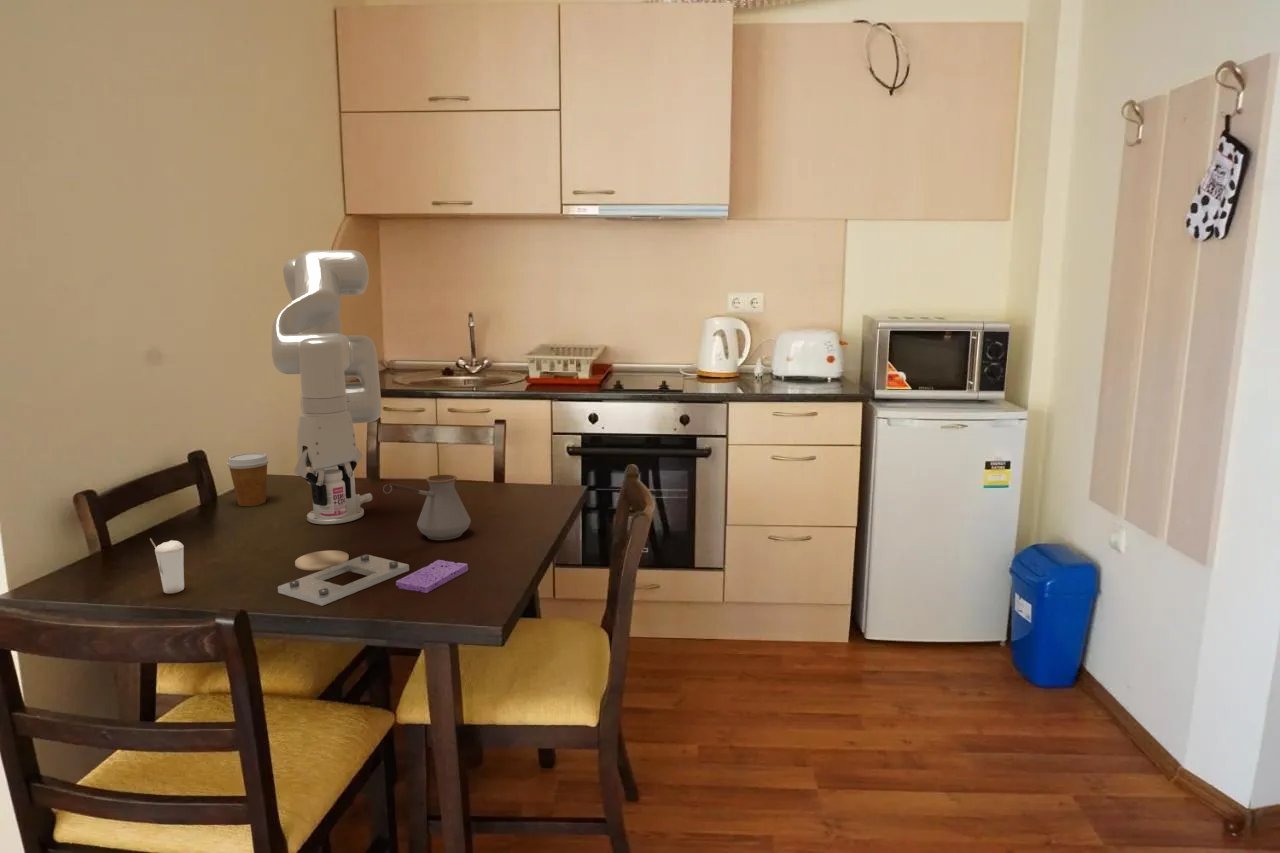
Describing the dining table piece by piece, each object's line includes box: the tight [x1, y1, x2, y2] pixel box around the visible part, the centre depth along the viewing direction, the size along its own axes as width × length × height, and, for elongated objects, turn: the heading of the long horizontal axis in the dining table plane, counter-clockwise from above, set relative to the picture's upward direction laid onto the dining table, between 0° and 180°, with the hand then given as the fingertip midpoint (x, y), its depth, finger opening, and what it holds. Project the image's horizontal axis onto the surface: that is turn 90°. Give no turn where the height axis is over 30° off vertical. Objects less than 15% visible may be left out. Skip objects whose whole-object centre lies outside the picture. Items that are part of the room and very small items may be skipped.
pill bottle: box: [320, 469, 347, 518], centre depth 156 cm, size 5×5×8 cm
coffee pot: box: [382, 474, 472, 541], centre depth 177 cm, size 21×12×15 cm, turn 149°
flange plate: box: [277, 554, 410, 607], centre depth 155 cm, size 20×12×2 cm, turn 149°
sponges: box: [395, 559, 469, 594], centre depth 156 cm, size 7×13×2 cm, turn 156°
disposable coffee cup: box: [226, 452, 270, 507], centre depth 208 cm, size 10×10×12 cm
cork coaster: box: [294, 549, 350, 571], centre depth 166 cm, size 10×10×1 cm
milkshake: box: [149, 537, 185, 595], centre depth 151 cm, size 5×5×10 cm
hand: (332, 500), depth 156 cm, fingers closed on pill bottle, 4 cm apart
